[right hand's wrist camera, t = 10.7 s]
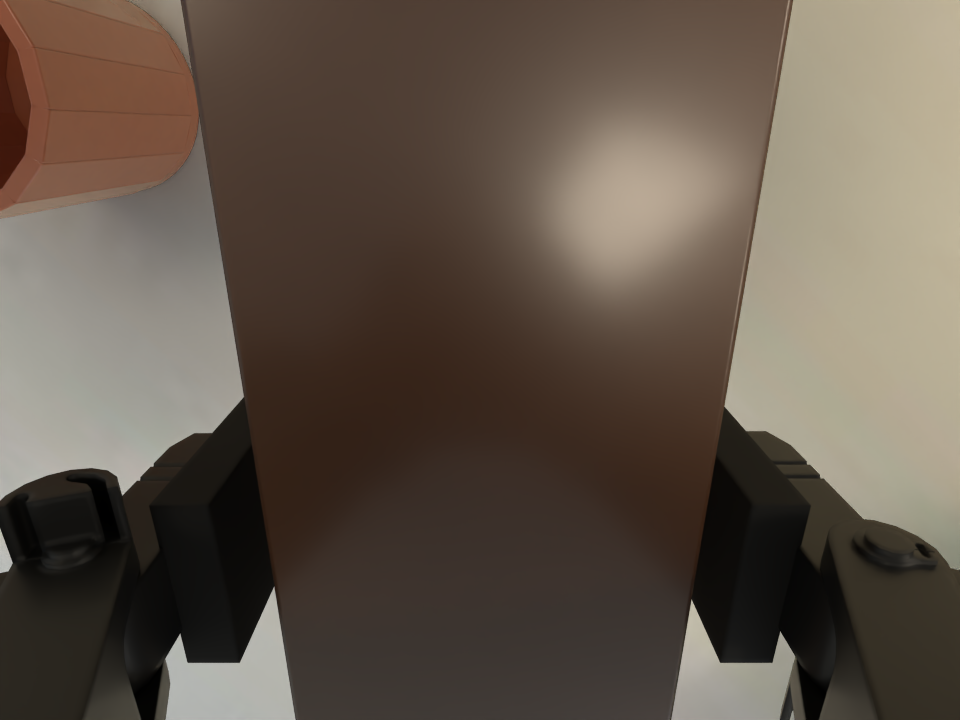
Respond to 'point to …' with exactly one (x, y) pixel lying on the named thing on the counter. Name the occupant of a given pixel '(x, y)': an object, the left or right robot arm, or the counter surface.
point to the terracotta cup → (88, 103)
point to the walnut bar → (485, 331)
